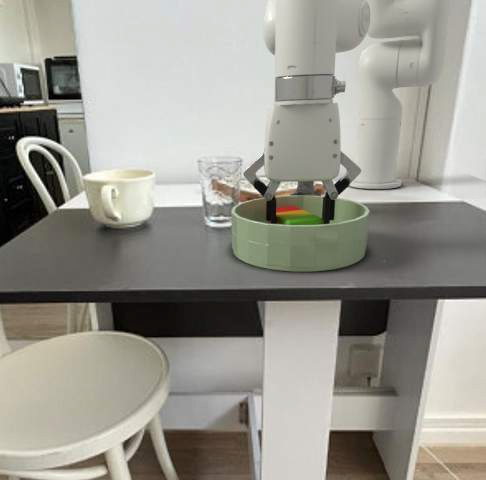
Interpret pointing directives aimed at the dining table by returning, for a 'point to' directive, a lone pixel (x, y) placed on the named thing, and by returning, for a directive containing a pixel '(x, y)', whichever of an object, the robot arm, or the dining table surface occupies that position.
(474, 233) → the dining table surface
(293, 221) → the popsicle
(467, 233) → the dining table surface
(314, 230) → the bowl
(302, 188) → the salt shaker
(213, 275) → the dining table surface
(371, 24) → the robot arm
